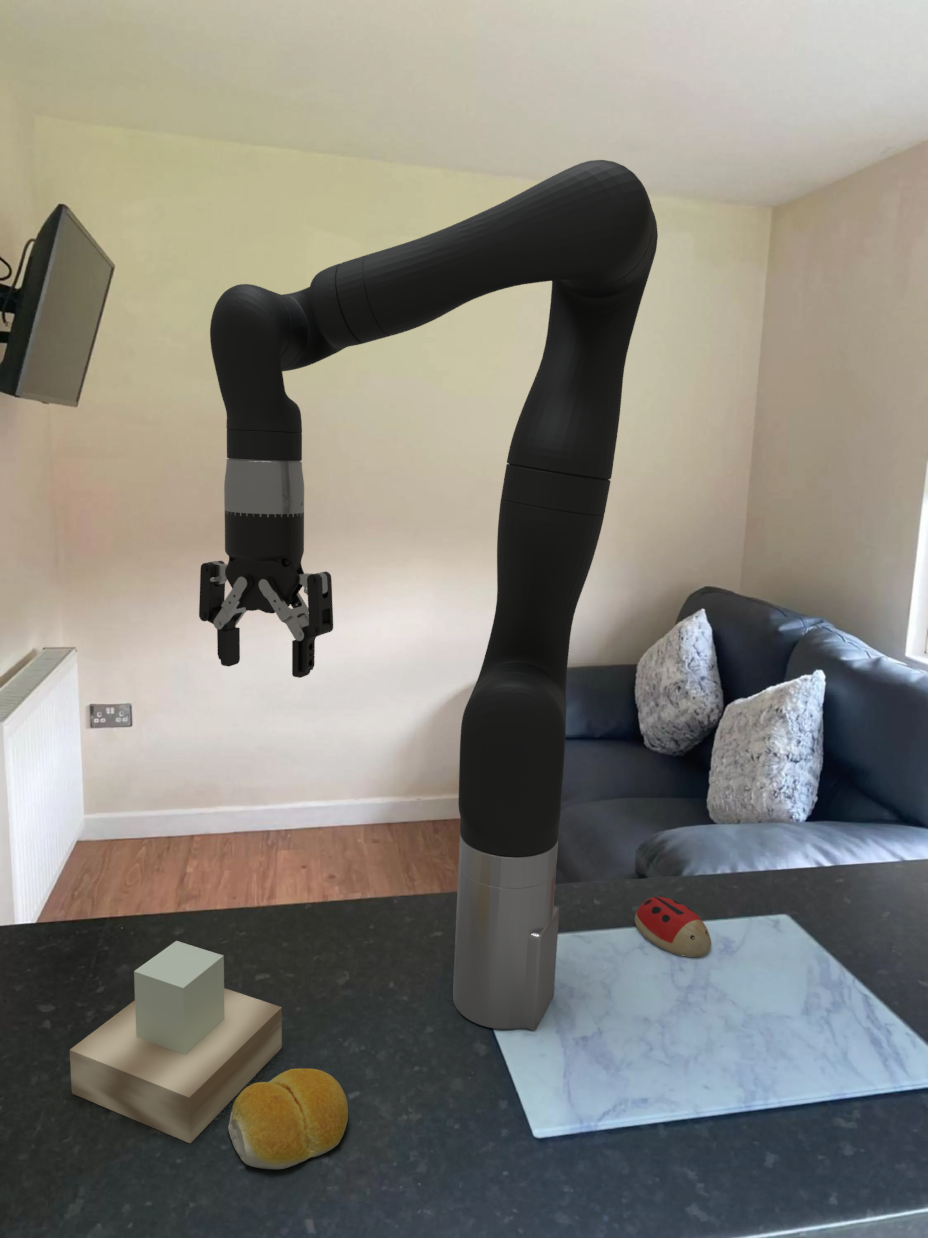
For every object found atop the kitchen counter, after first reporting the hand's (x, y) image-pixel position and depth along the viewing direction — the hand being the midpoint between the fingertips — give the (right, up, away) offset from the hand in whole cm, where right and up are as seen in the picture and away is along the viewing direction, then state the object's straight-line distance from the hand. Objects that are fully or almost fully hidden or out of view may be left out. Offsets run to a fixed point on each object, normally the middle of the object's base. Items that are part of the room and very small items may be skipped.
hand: (265, 670), depth 87 cm
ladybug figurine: (+43, -31, +11) cm, 54 cm away
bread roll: (+6, -35, -19) cm, 40 cm away
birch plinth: (-4, -33, -13) cm, 36 cm away
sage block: (-4, -29, -14) cm, 33 cm away
